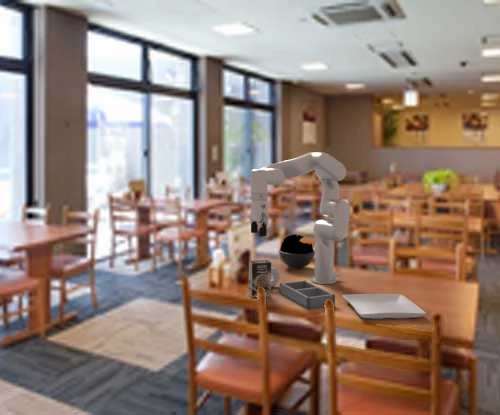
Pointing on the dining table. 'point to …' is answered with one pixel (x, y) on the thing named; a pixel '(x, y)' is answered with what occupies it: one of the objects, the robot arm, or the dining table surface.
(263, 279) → the coffee box
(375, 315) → the square plate
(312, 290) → the caddy
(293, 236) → the bowl of black rocks
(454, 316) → the dining table surface
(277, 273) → the donut
